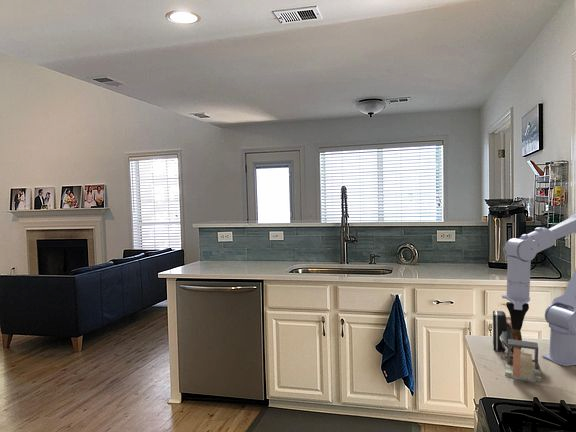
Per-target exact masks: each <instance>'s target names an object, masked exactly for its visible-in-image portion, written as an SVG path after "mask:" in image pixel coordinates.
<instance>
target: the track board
mask: <svg viewBox="0 0 576 432" xmlns="http://www.w3.org/2000/svg"><path fill="white" fill-rule="evenodd" d="M507 356H508V354H507V355H505V364H504V366H505V368H504V369H505V372H504V373H505V375H504V376H505V377H509V378H512V366H513V355H510V364H507ZM532 369H534V372H535V379H536V382H540V383H542V376H541V375H542V374H541V369H540V364H539V362H538V369H536V368H535V364H534V359H533V358H532Z"/></svg>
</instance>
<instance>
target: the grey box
mask: <svg viewBox="0 0 576 432" xmlns="http://www.w3.org/2000/svg"><path fill="white" fill-rule="evenodd" d="M510 346H513V347H520V348H521V349H522V348H523V349H528V350H534V356H533V357H534V359H533V360H534V364H535V368H536V369H538V363H539V344H538V342H534V341H527V340H522V341H521V340H513V339H508V347H507V364H510V356H511V350H510Z"/></svg>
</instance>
